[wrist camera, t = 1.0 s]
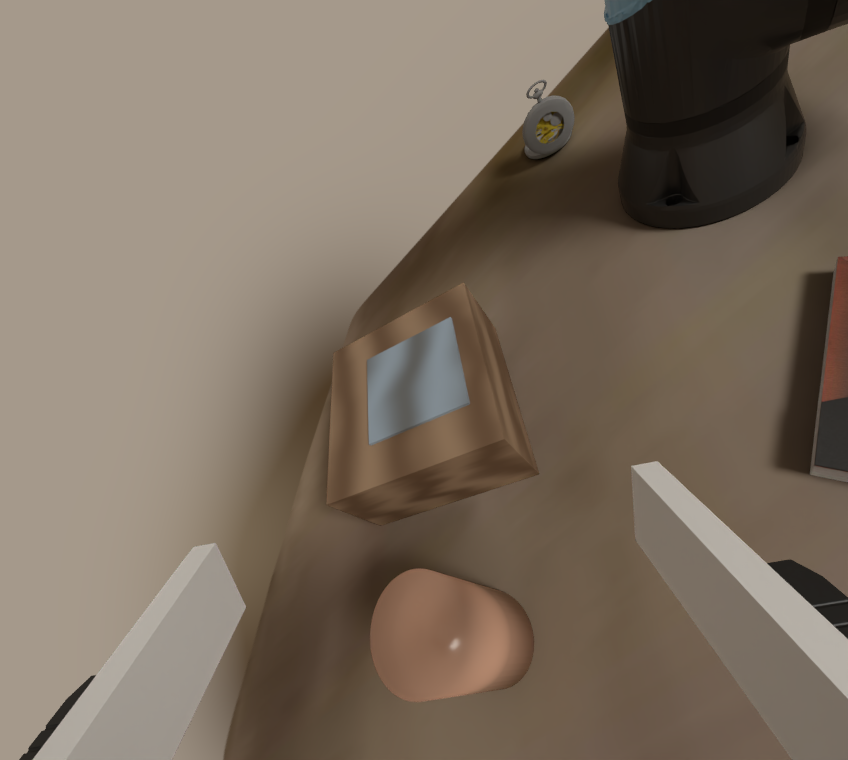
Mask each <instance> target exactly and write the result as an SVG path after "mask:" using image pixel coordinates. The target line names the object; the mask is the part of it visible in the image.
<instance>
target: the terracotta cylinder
mask: <svg viewBox="0 0 848 760" xmlns="http://www.w3.org/2000/svg"><path fill="white" fill-rule="evenodd" d="M370 645H371V653H372V658H373V662H374V665H375V668H376V670H377V673H378V675H379V677H380V679H381V680H382V682H383V683H384V685H385V686H386V687H387V688H388V689H389V690H390V691H391V692H392V693H393V694H394V695H396V696H398V697H399V698H401V699H403V700H406V701H410V702H423V701H430V700H436V699H443V698H449V697H456V696H462V695H469V694H475V693H482V692H488V691H495V690H501V689H506V688H509V687H511V686H513V685H515V684H516V683H518V682H519V681H520V680H521V679H522V678H523V677H524V675H525V674H526V672H527V671H528V669H529V666H530V664H531V661H532V657H533V651H534V636H533V630H532V627H531V623H530V621H529V618H528V616H527V614H526V612H525V610H524V609H523V608H522V606H521V605H520V604H519V603H518V601H516V600H515V599H514V598H513V597H512V596H510V595H509V594H507V593H505V592H502V591H499V590H496V589H493V588H489V587H486V586H482V585H479V584H476V583H472V582H469V581H465V580H462V579H459V578H455V577H452V576H448V575H445V574H442V573H438V572H435V571H432V570H428V569H411V570H408V571H405V572H403V573H401V574H400V575H398V576H397V577H395V578H394V579H393V580H392V581H391V582H390V583H389V584H388V585H387V587H386V588H385V589H384V591H383V592H382V594H381V596H380V598H379V599H378V602H377V604H376V607H375V610H374V613H373V617H372V622H371V630H370Z"/></svg>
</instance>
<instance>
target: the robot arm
mask: <svg viewBox="0 0 848 760" xmlns="http://www.w3.org/2000/svg"><path fill="white" fill-rule="evenodd" d="M604 18H605V21H606V22H607V24H608V25H609V31H610V36H611V42H612V47H613V53H614V58H615V64H616V69H617V75H618V80H619V86H620V91H621V96H622V102H623V107H624V112H625V118H626V124H627V131H626V137H625V142H624V148H623V154H622V159H621V165H620V170H619V176H618V187H619V192H620V196H621V201H622V205H623V207H624V209H625V211H626V212H627V213H628V214H629V215H630V216H631V217H632V218H634V219H635V220H637V221H639V222H641V223H644V224H647V225H651V226H655V227H662V228H685V227H694V226H700V225H705V224H709V223H713V222H717V221H720V220H723V219H726V218H729V217H732V216H734V215H737V214H739V213H742V212H744V211H746V210H748V209H750V208H752V207H754V206H756V205H757V204H759V203H761V202H762V201H764V200H766V199H767V198H769V197H770V196H771V195H773V194H774V193H775V192H777V191H778V190H779V189H780V188H781V187H782V186H783V185H784V184H785V183H786V182H787V181H788V180H789V179H790V178H791V177H792V176H793V174H794V173H795V171H796V170H797V168H798V166H799V164H800V162H801V159H802V155H803V149H804V143H805V137H806V125H805V120H804V117H803V114H802V111H801V108H800V106H799V103H798V100H797V97H796V94H795V91H794V88H793V86H792V83H791V80H790V77H789V74H788V71H787V67H788V57H789V48H790V44H792V43H795V42H798V41H800V40H803V39H806V38H809V37H811V36H814V35H817V34H820V33H823V32H825V31H828V30H831V29H834V28H837V27H839V26H842V25H845V24H848V0H605V11H604ZM631 471H632V489H633V507H634V525H635V540H636V542H637V543H638V544H639V546H640V547H641V549H642V550H643V551H644V553H645V554H646V556H647V557H648V558H649V560H650V561H651V563H652V564H653V565H654V567H655V568H656V570H657V571H658V572H659V574H660V575H661V577H662V578H663V579H664V581H665V582H666V584H667V585H668V586H669V588H670V589H671V591H672V592H673V593H674V595H675V596H676V598H677V599H678V600H679V602H680V603H681V605H682V606H683V607H684V609H685V610H686V612H687V613H688V614H689V616H690V617H691V619H692V620H693V621H694V623H695V624H696V626H697V627H698V628H699V630H700V631H701V633H702V634H703V635H704V637H705V638H706V640H707V641H708V642H709V644H710V645H711V647H712V648H713V649H714V651H715V652H716V654H717V655H718V656H719V658H720V659H721V661H722V662H723V663H724V665H725V666H726V668H727V669H728V670H729V672H730V673H731V675H732V676H733V677H734V679H735V680H736V682H737V683H738V685H739V686H740V687H741V689H742V690H743V692H744V693H745V694H746V696H747V697H748V699H749V700H750V701H751V703H752V704H753V706H754V707H755V708H756V710H757V711H758V713H759V714H760V715H761V717H762V718H763V720H764V721H765V722H766V724H767V725H768V727H769V728H770V729H771V731H772V732H773V734H774V735H775V736H776V738H777V739H778V741H779V742H780V743H781V745H782V746H783V748H784V749H785V750H786V752H787V753H788V755H789V756H790V757H791V759H792V760H848V597H847V596H845V595H844V594H843V593H842V592H841V591H839V590H838V589H837V588H836V587H835V586H833V585H832V584H831V583H830V582H829V581H827V580H826V579H825V578H824V577H823V576H821V575H819V574H817V573H815V572H813V571H811V570H810V569H808V568H806V567H804V566H802V565H800V564H798V563H796V562H794V561H793V560H791V559H790V560H784V561H778V562H772V563H766V562H765V561H764V560H763V559H761V558H760V557H759V556H758V555H757V554H756V553H755V552H754V551H753V550H752V549H751V548H750V547H749V546H748V545H746V544H745V543H744V542H743V541H742V540H741V539H740V538H739V537H738V536H737V535H736V534H735V533H734V532H733V531H731V530H730V529H729V528H728V527H727V526H726V525H725V524H724V523H723V522H722V521H721V520H720V519H719V518H718V517H717V516H715V515H714V514H713V513H712V512H711V511H710V510H709V509H708V508H707V507H706V506H705V505H704V504H703V503H702V502H700V501H699V500H698V499H697V498H696V497H695V496H694V495H693V494H692V493H691V492H690V491H689V490H688V489H687V488H685V487H684V486H683V485H682V484H681V483H680V482H679V481H678V480H677V479H676V478H675V477H674V476H673V475H672V474H670V473H669V472H668V471H667V470H666V469H665V468H664V467H663V466H662V465H661V464H660V463H659V462H658V461H656V462H651V463H645V464H640V465H634V466H631ZM245 608H246V605H245V603H244V601H243V599H242V597H241V595H240V593H239V591H238V589H237V586H236V584H235V582H234V580H233V578H232V576H231V574H230V572H229V570H228V567H227V565H226V563H225V561H224V559H223V557H222V555H221V553H220V551H219V548H218V546H217V544H216V543H212V544H206V545H201V546H196V547H193V548H192V550H191V551H190V552H189V553H188V555H187V556H186V557H185V559H184V560H183V561H182V563H181V564H180V565H179V567H178V568H177V569H176V571H175V572H174V573H173V575H172V576H171V577H170V578H169V580H168V581H167V582H166V584H165V585H164V587H163V588H162V589H161V590H160V592H159V593H158V594H157V596H156V597H155V598H154V600H153V601H152V602H151V604H150V605H149V606H148V608H147V609H146V610H145V612H144V613H143V614H142V616H141V617H140V618H139V620H138V621H137V622H136V624H135V625H134V626H133V627H132V629H131V630H130V631H129V633H128V634H127V635H126V637H125V638H124V640H123V641H122V642H121V643H120V645H119V646H118V647H117V649H116V650H115V652H114V653H113V654H112V655H111V657H110V658H109V659H108V661H107V662H106V663H105V665H104V666H103V667H102V669H101V670H100V671H99V673H98V674H97V675H95V676H91V677H90V678H89V679H88V680H87V681H86V682H84V683H83V684H82V685H81V686H80V687H79V688H78V689H77V690H76V691H75V692H74V693H73V694H72V695H71V696H70V697H68V699H67V700H66V701H65V702H64V703H63V705H62V706H61V707H60V708H59V710H58V711H57V712H56V713H55V715H54V716H53V717H52V719H51V720H50V721H49V722H48V724H47V725H46V729H45V730H44V731H41V733H40V734H39V735H38V737H37V738H36V739H35V740H34V742H33V743H32V744H31V746H30V747H29V751H28V752H27V753H26V754H23V756H22V757H21V758H20V760H172V758H173V757H174V755H175V753H176V751H177V748H178V746H179V744H180V742H181V740H182V738H183V736H184V734H185V732H186V730H187V728H188V726H189V724H190V722H191V719H192V717H193V715H194V713H195V711H196V709H197V707H198V705H199V703H200V701H201V699H202V697H203V695H204V693H205V691H206V689H207V687H208V685H209V683H210V681H211V678H212V676H213V674H214V672H215V670H216V668H217V666H218V664H219V662H220V660H221V658H222V655H223V654H224V652H225V650H226V648H227V646H228V643H229V641H230V639H231V637H232V635H233V633H234V631H235V629H236V627H237V625H238V623H239V621H240V619H241V616H242V615H243V613H244V611H245Z"/></svg>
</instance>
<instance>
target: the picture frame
mask: <svg viewBox="0 0 848 760" xmlns="http://www.w3.org/2000/svg"><path fill="white" fill-rule="evenodd" d="M810 475H814V476H819V477H824V478H829V479H833V480H838V481H843V482H848V257H838V259H837V262H836V266H835V269H834V272H833V281H832V289H831V298H830V306H829V315H828V323H827V332H826V340H825V349H824V357H823V365H822V374H821V382H820V391H819V399H818V408H817V416H816V425H815V433H814V442H813V450H812V458H811V467H810Z"/></svg>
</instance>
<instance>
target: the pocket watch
mask: <svg viewBox="0 0 848 760" xmlns="http://www.w3.org/2000/svg"><path fill="white" fill-rule="evenodd" d="M541 82H543V83H544V87H543V89H542V90H539V89H537V88H536V89H535V91H534V92H535V94H534V95H533V96H529V92H530V90H531V89H532V87H533V86H535V85H536V84H538V83H541ZM546 83H547V82H546V81H545V80H540V81H538V82H536V83H534V84H533V85H532V86H531V87H530V88H529V90H528V92H527V98H534V99H537V100H538V103H537V104H536V105H534V106H533V107H532V109H531V110H530V112H529V113H528V115H527V117H526V119H525V121H524V126H523V139H524V142H525V145H526V146H525V154H526V155H527V157H529V158H531V159H540V158H544V157H547V156H549V155H551V154H553V153H555V152H557V151H558V150H559V149H560V148H562V147H563V146H564V145H565V144H566V143H567V141H568V140H569V138H570V136H571V133H572V129H573V125H574V112H573V108H572V106H571V105H570V103H569V102H568V101H567V100H566V99H565V98H563V97H560V96H550V97H546V98H544V99H542V98H541V95H542V93H543V90H544V89H545V87H546ZM537 125H538V126H537ZM538 127H539V128H538ZM537 129H540V130H539V131H536V130H537Z"/></svg>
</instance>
